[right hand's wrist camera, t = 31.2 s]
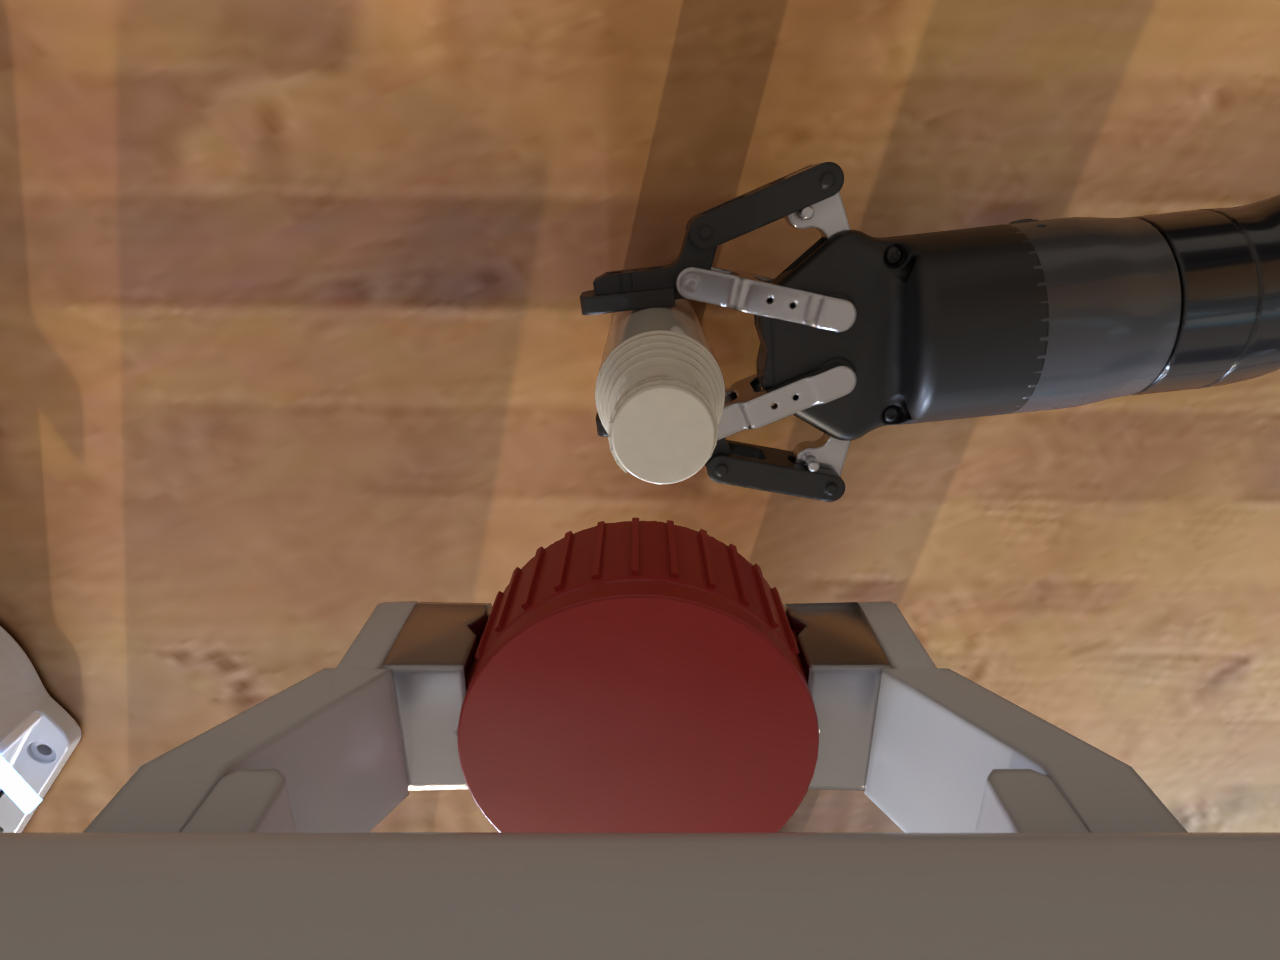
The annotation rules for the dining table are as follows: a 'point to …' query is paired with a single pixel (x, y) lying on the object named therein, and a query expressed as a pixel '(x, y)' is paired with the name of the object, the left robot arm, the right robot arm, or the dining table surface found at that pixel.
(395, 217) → the dining table surface
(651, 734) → the cap
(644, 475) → the bottle
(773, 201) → the left robot arm
